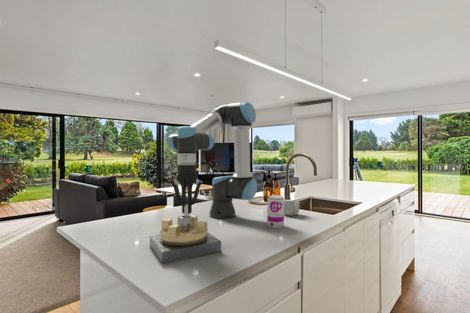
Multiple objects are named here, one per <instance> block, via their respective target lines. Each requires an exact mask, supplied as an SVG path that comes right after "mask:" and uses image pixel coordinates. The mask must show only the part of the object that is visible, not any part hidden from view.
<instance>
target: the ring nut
mask: <svg viewBox="0 0 470 313" xmlns="http://www.w3.org/2000/svg"><path fill="white" fill-rule="evenodd" d="M176 219H177V220H176V221H177V224H173V218H164V219H161V229H160V231H159V235H160V241H161V242H162V243H164V244H167V245H172V246H186V245H193V244H198V243H201V242H203V241H205V240H206V239H207V238H208V233H209V231H208V221H204V220H200V221H198V215H196V214H195V215H193V214H191V215H190V214H189V216H184V215H179V216H177V218H176Z"/></svg>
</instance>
